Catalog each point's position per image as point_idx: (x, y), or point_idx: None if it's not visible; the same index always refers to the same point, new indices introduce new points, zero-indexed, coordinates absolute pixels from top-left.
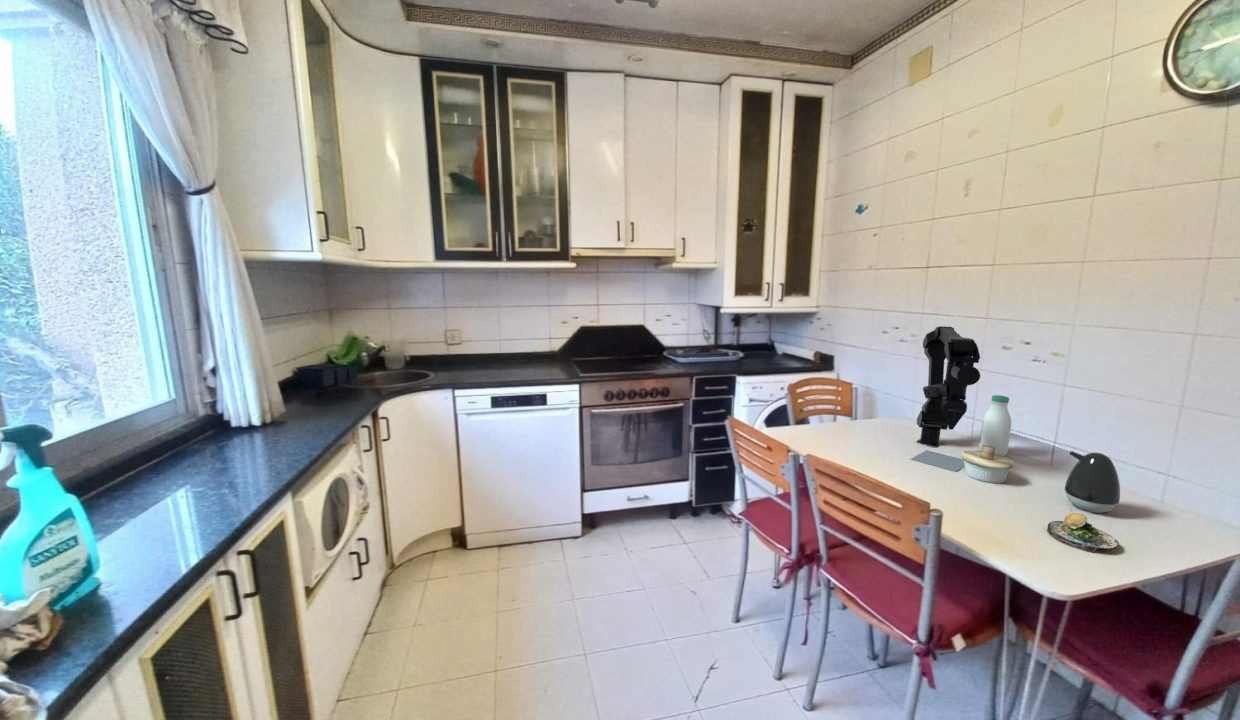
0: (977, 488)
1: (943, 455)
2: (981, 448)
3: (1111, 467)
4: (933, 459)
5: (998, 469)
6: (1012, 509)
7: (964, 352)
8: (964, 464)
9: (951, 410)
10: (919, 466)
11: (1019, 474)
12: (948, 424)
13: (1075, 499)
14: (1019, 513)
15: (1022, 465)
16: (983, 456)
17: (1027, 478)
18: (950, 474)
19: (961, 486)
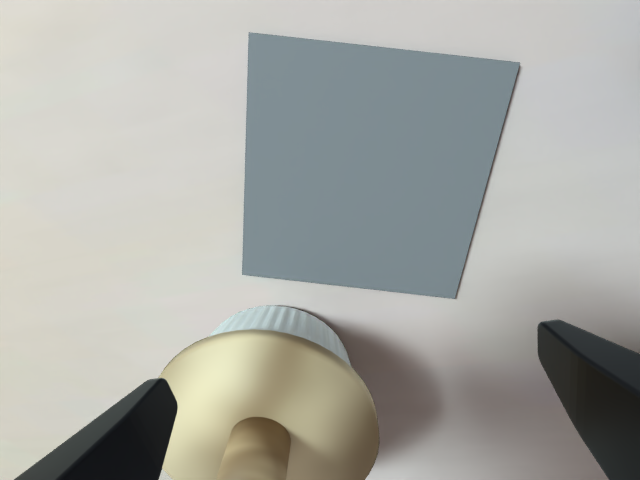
0: (119, 359)
1: (466, 174)
2: (240, 465)
3: None
4: (342, 148)
5: None
6: (36, 446)
7: None
8: (245, 322)
9: None
10: (171, 114)
11: (419, 441)
12: (88, 428)
13: None
14: (25, 459)
15: (556, 442)
16: (228, 440)
17: (389, 460)
18: (189, 259)
19: (83, 316)
